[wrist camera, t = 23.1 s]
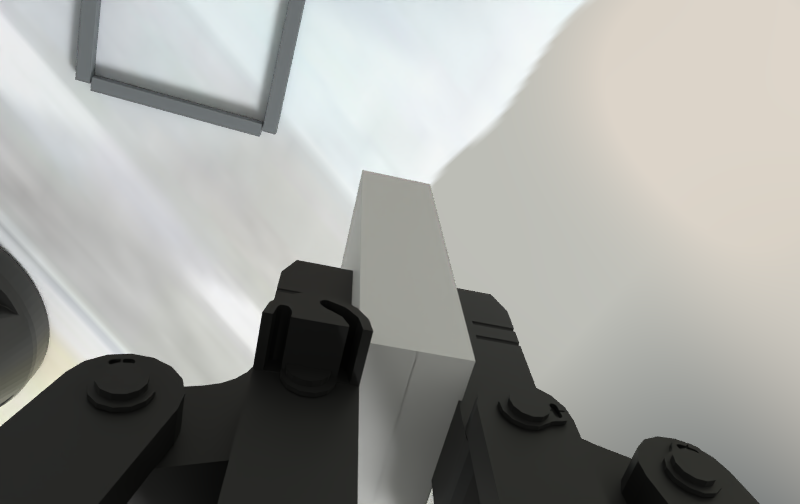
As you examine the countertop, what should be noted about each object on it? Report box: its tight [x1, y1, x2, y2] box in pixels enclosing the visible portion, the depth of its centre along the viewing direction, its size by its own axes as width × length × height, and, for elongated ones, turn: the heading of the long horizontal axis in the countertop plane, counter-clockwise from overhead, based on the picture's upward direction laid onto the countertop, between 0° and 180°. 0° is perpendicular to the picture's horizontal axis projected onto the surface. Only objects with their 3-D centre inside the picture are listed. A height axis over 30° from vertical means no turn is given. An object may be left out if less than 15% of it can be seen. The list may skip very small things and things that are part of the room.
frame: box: [75, 0, 305, 136], centre depth 37 cm, size 12×10×1 cm
